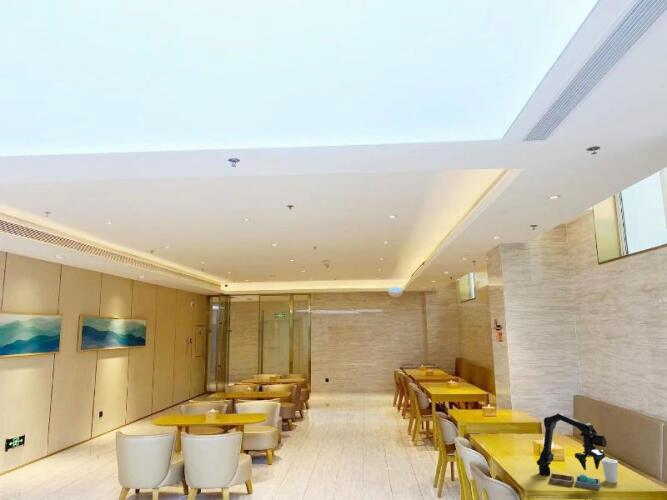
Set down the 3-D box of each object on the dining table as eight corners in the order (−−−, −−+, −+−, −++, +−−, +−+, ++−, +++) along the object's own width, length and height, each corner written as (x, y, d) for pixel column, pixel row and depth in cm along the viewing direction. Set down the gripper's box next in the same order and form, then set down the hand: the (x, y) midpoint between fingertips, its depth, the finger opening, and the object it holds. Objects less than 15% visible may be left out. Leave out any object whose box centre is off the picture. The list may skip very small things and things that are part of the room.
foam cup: (614, 479, 311) (612, 458, 314) (622, 483, 302) (620, 462, 304) (600, 479, 311) (598, 458, 313) (608, 483, 302) (606, 462, 304)
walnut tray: (549, 483, 302) (549, 478, 303) (552, 478, 313) (551, 473, 314) (572, 487, 296) (572, 481, 296) (573, 481, 307) (573, 476, 307)
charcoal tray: (575, 486, 296) (575, 481, 297) (577, 480, 308) (576, 476, 308) (599, 490, 290) (599, 485, 290) (600, 484, 301) (599, 479, 302)
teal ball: (587, 486, 295) (586, 478, 295) (587, 484, 299) (587, 476, 300) (596, 487, 292) (595, 479, 293) (596, 485, 296) (595, 477, 297)
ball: (579, 483, 301) (578, 474, 302) (579, 480, 306) (578, 472, 306) (587, 484, 299) (587, 476, 300) (588, 482, 303) (587, 474, 304)
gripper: (586, 447, 290) (588, 474, 287) (610, 445, 294) (613, 472, 292) (572, 443, 300) (575, 469, 298) (596, 441, 305) (599, 467, 302)
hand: (591, 469), depth 297 cm, fingers open, 9 cm apart
